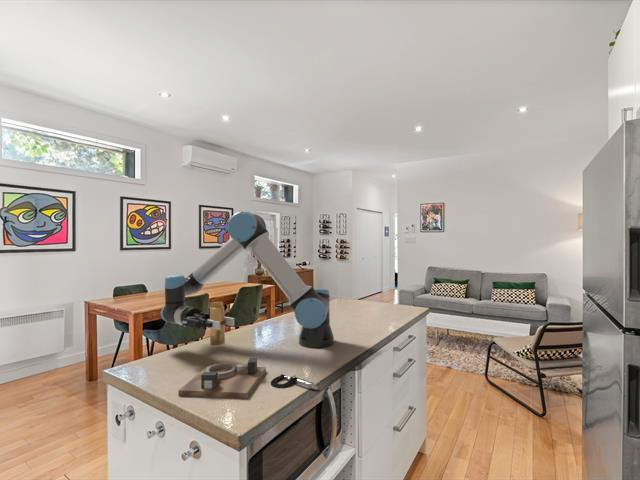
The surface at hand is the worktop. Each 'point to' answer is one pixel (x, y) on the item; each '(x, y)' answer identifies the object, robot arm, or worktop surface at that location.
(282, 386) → the micrometer
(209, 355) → the worktop surface
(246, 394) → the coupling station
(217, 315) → the coupling
